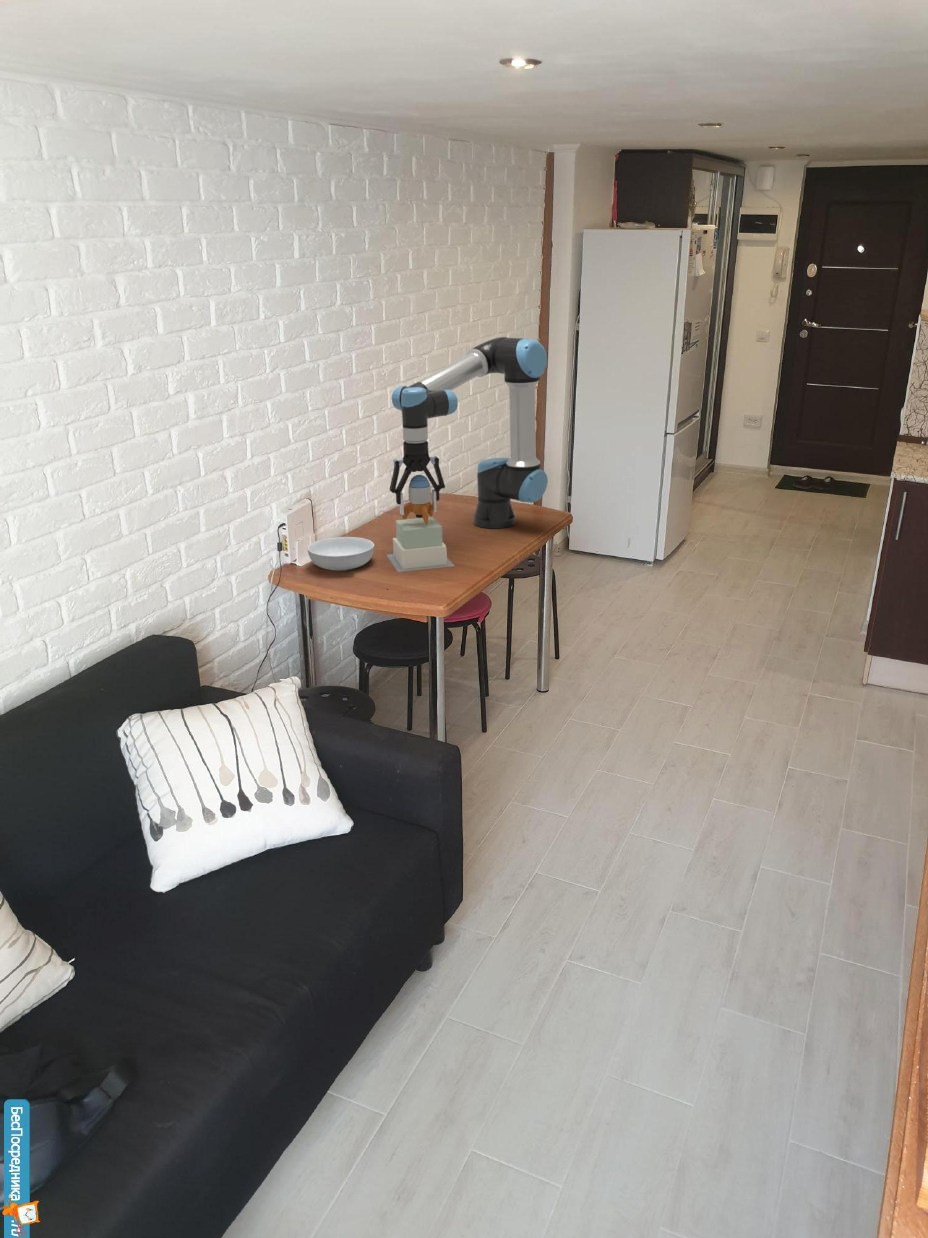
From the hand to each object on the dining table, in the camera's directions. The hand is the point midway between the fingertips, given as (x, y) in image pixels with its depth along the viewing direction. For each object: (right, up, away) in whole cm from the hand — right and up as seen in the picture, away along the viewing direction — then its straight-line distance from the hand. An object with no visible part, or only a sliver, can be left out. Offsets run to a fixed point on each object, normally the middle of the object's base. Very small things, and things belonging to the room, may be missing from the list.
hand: (418, 512), depth 294 cm
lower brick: (0, -14, +6) cm, 16 cm away
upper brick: (0, -9, +4) cm, 10 cm away
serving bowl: (-24, -17, +5) cm, 30 cm away
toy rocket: (0, -2, +1) cm, 2 cm away
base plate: (0, -15, +6) cm, 17 cm away
